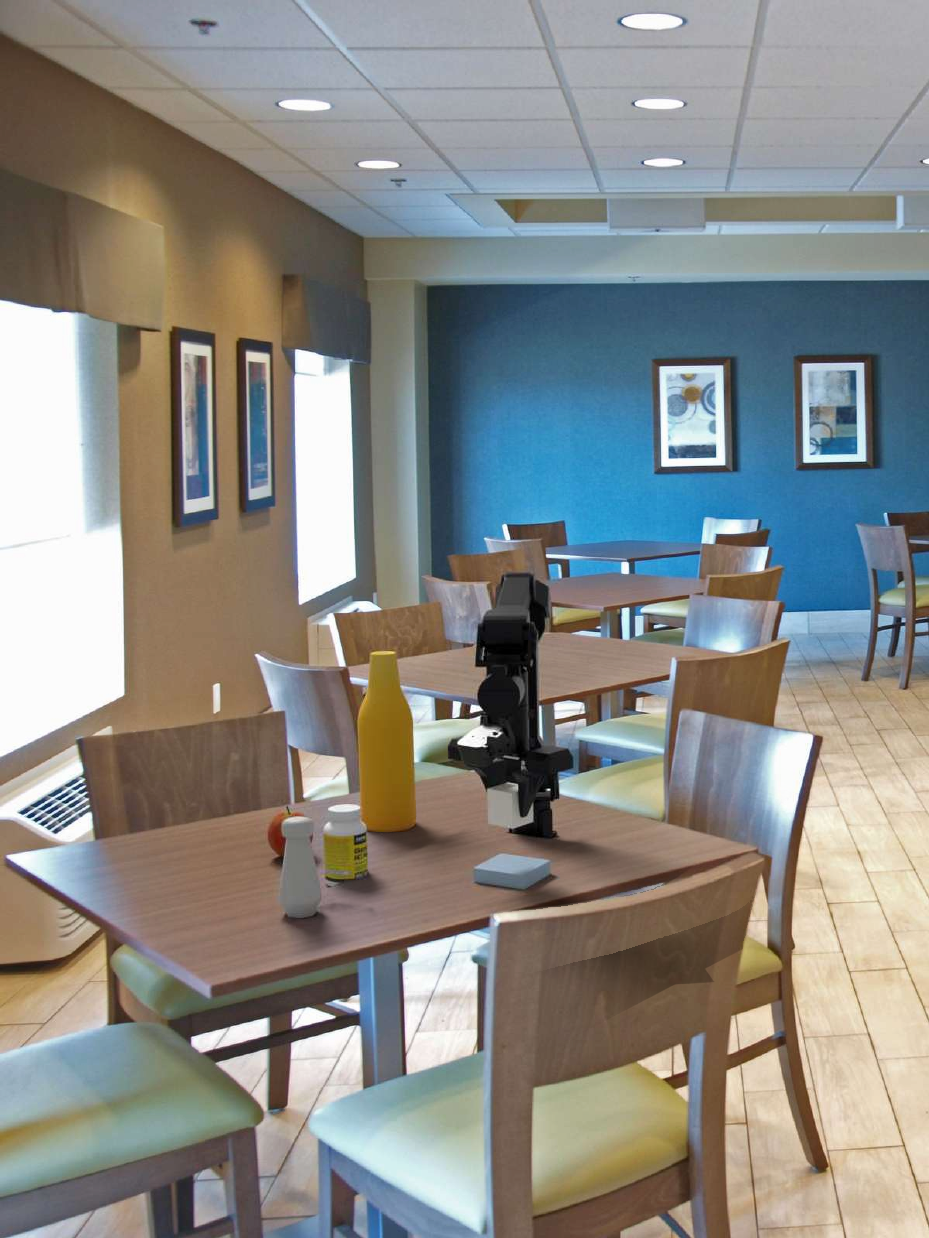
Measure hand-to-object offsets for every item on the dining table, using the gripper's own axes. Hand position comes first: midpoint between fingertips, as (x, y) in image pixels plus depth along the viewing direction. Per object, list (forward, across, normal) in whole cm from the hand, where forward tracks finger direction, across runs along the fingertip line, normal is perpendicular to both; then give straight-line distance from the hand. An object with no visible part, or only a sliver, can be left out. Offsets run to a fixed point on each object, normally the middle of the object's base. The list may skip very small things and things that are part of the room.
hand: (510, 814), depth 192 cm
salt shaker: (+11, -15, -26) cm, 32 cm away
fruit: (+11, -37, -9) cm, 39 cm away
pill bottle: (+11, -20, -13) cm, 26 cm away
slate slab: (+9, 0, 0) cm, 9 cm away
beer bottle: (+11, -38, +13) cm, 41 cm away
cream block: (+1, 0, 0) cm, 1 cm away
